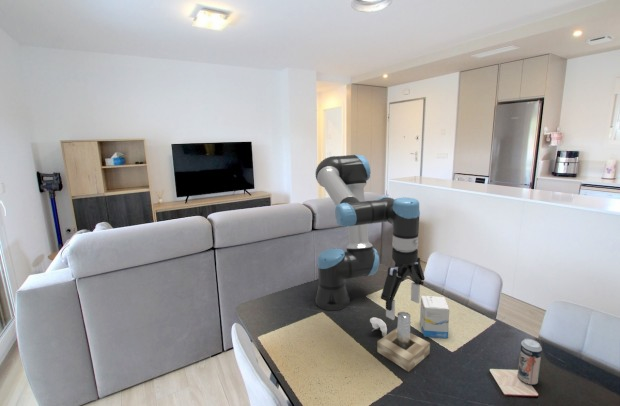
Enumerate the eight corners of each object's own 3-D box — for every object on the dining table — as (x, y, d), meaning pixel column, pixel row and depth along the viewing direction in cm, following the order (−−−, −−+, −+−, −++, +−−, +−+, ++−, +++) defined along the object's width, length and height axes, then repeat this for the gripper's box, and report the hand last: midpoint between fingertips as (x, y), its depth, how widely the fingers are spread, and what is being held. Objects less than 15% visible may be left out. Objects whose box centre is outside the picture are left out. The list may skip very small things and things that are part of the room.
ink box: (448, 338, 105) (450, 308, 103) (423, 336, 107) (424, 307, 105) (443, 324, 114) (444, 296, 111) (419, 322, 115) (420, 294, 113)
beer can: (513, 373, 89) (517, 338, 86) (528, 372, 89) (532, 336, 87) (526, 386, 84) (530, 349, 82) (542, 385, 84) (546, 347, 82)
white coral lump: (383, 332, 114) (393, 322, 111) (380, 344, 108) (390, 334, 105) (366, 318, 116) (375, 309, 113) (362, 329, 110) (371, 319, 107)
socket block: (377, 351, 101) (377, 341, 100) (398, 336, 108) (398, 326, 107) (408, 372, 91) (408, 360, 91) (429, 353, 99) (429, 342, 98)
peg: (394, 352, 100) (395, 315, 97) (401, 347, 102) (402, 310, 99) (405, 358, 97) (405, 320, 94) (412, 353, 99) (413, 315, 96)
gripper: (390, 263, 82) (389, 331, 86) (437, 240, 97) (434, 299, 101) (369, 255, 87) (368, 319, 92) (416, 235, 102) (414, 291, 107)
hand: (403, 309), depth 97 cm, fingers open, 13 cm apart
